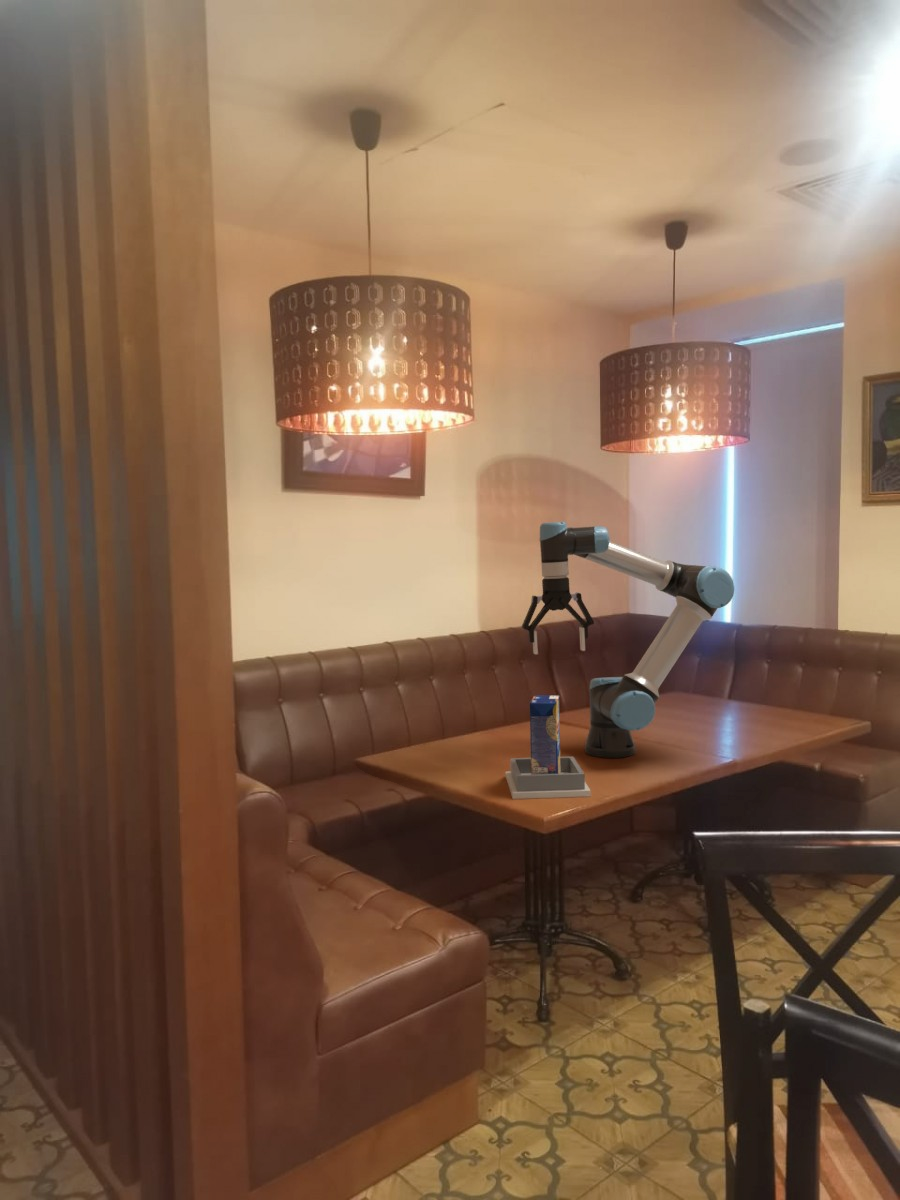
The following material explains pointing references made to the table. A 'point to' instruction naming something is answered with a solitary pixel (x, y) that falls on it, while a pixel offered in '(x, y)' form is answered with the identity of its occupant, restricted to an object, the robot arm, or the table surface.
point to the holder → (546, 780)
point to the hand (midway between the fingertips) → (559, 652)
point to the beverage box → (545, 734)
